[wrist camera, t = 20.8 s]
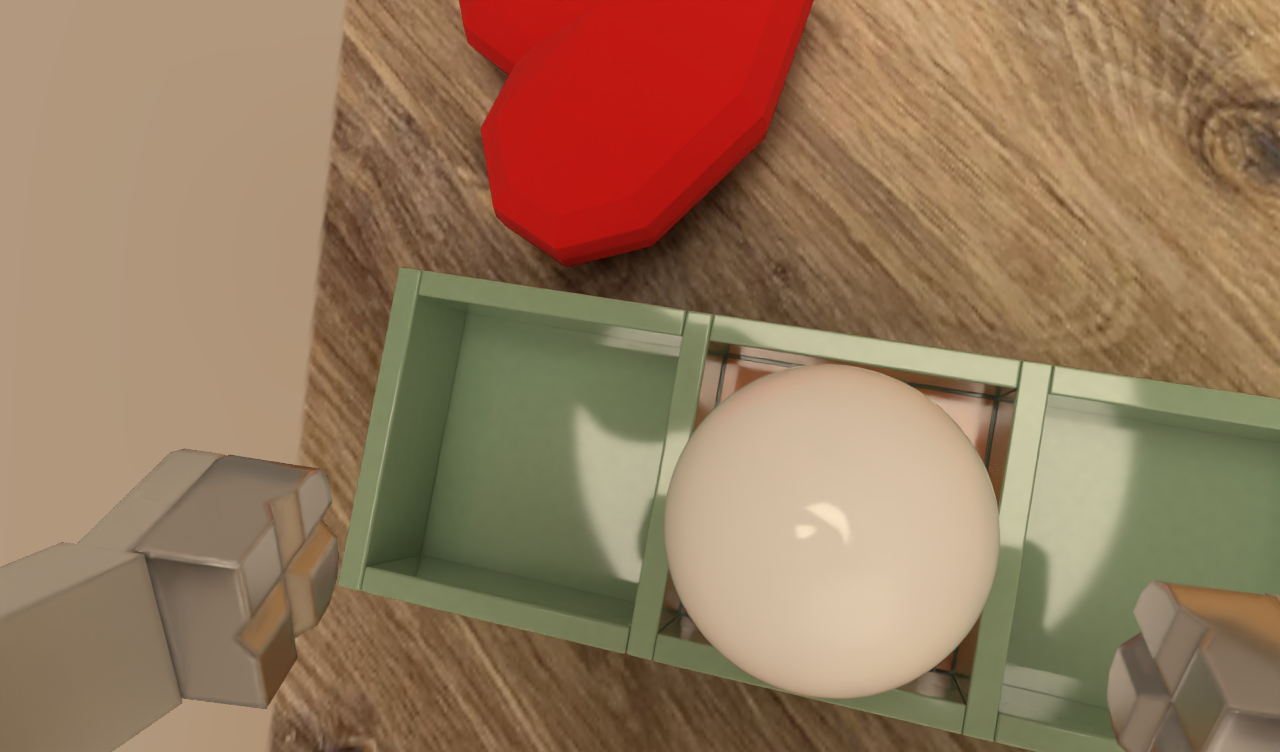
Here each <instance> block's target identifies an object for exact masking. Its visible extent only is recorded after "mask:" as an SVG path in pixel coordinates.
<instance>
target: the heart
mask: <svg viewBox="0 0 1280 752" xmlns="http://www.w3.org/2000/svg"><path fill="white" fill-rule="evenodd" d="M813 1H814V0H459V3H460V8H461V14H462V20H463V25H464V29H465V33H466V37H467V41H468V43H469V44H470V45H471V46H472V47H473V48H474V49H475V50H477V51H478V52H479V53H480V54H482V55H483V56H484V57H486V58H487V59H488V60H490V61H491V62H492V63H494V64H495V65H496V66H498V67H499V68H500V69H501V70H503V71H504V72H505V73H507V74H508V75H509V77H508V78H507V80H506V82H505V84H504V86H503V88H502V90H501V91H500V93H499V95H498V97H497V99H496V101H495V103H494V104H493V106H492V108H491V110H490V112H489V114H488V115H487V117H486V119H485V121H484V123H483V125H482V127H481V133H482V139H483V146H484V152H485V158H486V164H487V171H488V177H489V183H490V190H491V196H492V202H493V208H494V210H495V213H496V216H497V217H498V218H499V219H500V220H501V221H502V222H503V223H504V224H505V226H507V227H508V228H510V229H511V230H512V231H514V232H515V233H517V234H518V235H520V236H521V237H523V238H524V239H526V240H527V241H529V242H530V243H531V244H533V245H534V246H536V247H537V248H539V249H540V250H542V251H543V252H545V253H546V254H548V255H549V256H550V257H552V258H553V259H555V260H556V261H558V262H559V263H561V264H562V265H564V266H565V267H569V266H573V265H578V264H582V263H586V262H590V261H594V260H598V259H602V258H606V257H610V256H614V255H618V254H622V253H626V252H630V251H634V250H638V249H642V248H647V247H651V246H653V245H654V244H655V243H656V242H657V241H658V240H659V239H660V238H661V237H662V236H663V235H664V234H666V233H667V232H668V231H669V230H670V229H671V228H672V227H673V226H674V225H675V224H676V223H677V222H678V221H679V220H680V219H681V218H682V217H683V216H684V215H685V214H686V213H687V212H689V211H690V210H691V209H692V208H693V207H694V206H695V205H696V204H697V203H698V202H699V201H700V200H701V199H702V198H703V197H704V196H705V195H706V194H707V193H708V192H709V191H710V190H711V189H713V188H714V187H715V186H716V185H717V184H718V183H719V182H720V181H721V180H722V179H723V178H724V177H725V176H726V175H727V174H728V173H729V172H730V171H731V170H732V169H733V168H734V167H735V166H737V165H738V164H739V163H740V162H741V161H742V160H743V159H744V158H745V157H746V156H747V155H748V154H749V153H750V152H751V151H752V150H753V149H754V148H755V147H756V146H757V145H758V144H759V143H761V142H762V141H763V140H764V139H765V136H766V133H767V130H768V127H769V125H770V122H771V119H772V116H773V113H774V111H775V108H776V105H777V102H778V99H779V97H780V94H781V91H782V88H783V85H784V83H785V80H786V77H787V74H788V72H789V69H790V66H791V63H792V60H793V58H794V55H795V52H796V49H797V46H798V44H799V41H800V38H801V35H802V32H803V30H804V27H805V24H806V21H807V18H808V16H809V13H810V10H811V7H812V4H813Z"/></svg>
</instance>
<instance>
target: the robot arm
mask: <svg viewBox="0 0 1280 752" xmlns="http://www.w3.org/2000/svg"><path fill="white" fill-rule="evenodd" d="M331 503H332V498H331V493H330V487H329V481H328V476H327V475H326V474H324V473H323V472H322V471H321V470H320V469H317V468H311V467H305V466H298V465H292V464H285V463H279V462H273V461H265V460H260V459H253V458H247V457H240V456H234V455H228V456H226V455H223V454H217V453H211V452H204V451H197V450H190V449H182V450H178V451H174V452H171V453H169V454H168V455H167V456H166V457H165V458H164V459H163V460H162V461H161V462H160V463H159V464H158V465H157V466H156V467H155V468H154V469H153V470H152V471H151V472H150V473H149V474H148V475H147V476H146V477H145V478H144V479H143V480H142V481H141V482H140V483H139V484H138V485H137V486H136V487H134V488H133V489H132V491H130V493H128V494H127V495H126V496H125V497H124V498H123V500H121V501H120V502H119V503H118V504H117V505H116V506H115V507H114V508H113V509H112V510H111V511H110V512H109V513H108V514H107V515H106V516H105V517H104V518H103V519H102V520H101V521H100V522H99V523H98V524H97V525H96V526H95V527H94V528H93V529H92V530H91V531H90V532H89V533H88V534H87V535H86V536H85V537H84V538H83V539H82V540H81V541H79V542H78V543H77V544H70V543H63V542H61V543H59V544H57V545H54V546H52V547H49V548H47V549H44V550H42V551H39V552H37V553H34V554H32V555H29V556H27V557H24V558H22V559H19V560H17V561H14V562H12V563H9V564H7V565H4V566H2V567H0V752H112V751H114V750H115V749H116V748H118V747H120V746H121V745H123V744H124V743H125V742H126V741H128V740H129V739H131V738H132V737H134V736H135V735H137V734H138V733H140V732H141V731H143V730H144V729H146V728H147V727H149V726H150V725H151V724H153V723H154V722H156V721H157V720H158V719H160V718H161V717H163V716H164V715H166V714H167V713H169V712H170V711H171V710H173V709H174V708H176V707H177V706H178V705H180V704H181V703H182V698H184V699H191V700H199V701H207V702H215V703H223V704H230V705H238V706H246V707H254V708H262V709H267V707H268V705H269V704H270V702H271V701H272V699H273V697H274V696H275V694H276V692H277V691H278V689H279V687H280V686H281V684H282V683H283V681H284V679H285V678H286V676H287V674H288V673H289V671H290V669H291V668H292V666H293V665H294V663H295V661H296V660H297V651H296V645H295V639H294V638H296V637H298V636H299V635H301V634H303V633H305V632H306V631H308V630H310V629H312V628H313V627H315V626H317V625H318V623H319V621H320V619H321V618H322V616H323V614H324V612H325V611H326V609H327V607H328V605H329V603H330V600H331V597H332V593H333V590H334V587H335V583H336V580H337V574H338V560H339V553H338V544H337V537H336V535H335V534H334V533H333V532H332V531H331V530H330V528H329V527H328V526H327V525H326V524H325V523H324V521H323V520H322V519H321V518H322V517H323V515H324V514H325V512H326V511H327V509H328V508H329V506H330V505H331ZM1133 612H1134V615H1135V617H1136V620H1137V622H1138V624H1139V627H1140V629H1141V632H1140V633H1138V634H1137V635H1135V636H1133V637H1132V638H1130V639H1129V640H1127V641H1125V642H1124V643H1122V644H1121V645H1119V646H1118V649H1117V651H1116V654H1115V657H1114V660H1113V662H1112V665H1111V668H1110V671H1109V679H1108V692H1107V704H1108V711H1109V718H1110V723H1111V726H1112V729H1113V732H1114V735H1115V738H1116V741H1117V744H1118V745H1119V746H1120V747H1121V748H1122V749H1123V750H1124V751H1125V752H1280V594H1271V593H1265V594H1257V593H1249V592H1241V591H1233V590H1226V589H1218V588H1210V587H1202V586H1194V585H1187V584H1179V583H1171V582H1163V581H1155V580H1152V581H1151V582H1150V584H1149V585H1148V586H1147V587H1146V588H1145V589H1144V590H1143V591H1142V592H1141V595H1140V597H1139V599H1138V601H1137V604H1136V606H1135V608H1134V610H1133Z"/></svg>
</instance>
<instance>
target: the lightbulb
mask: <svg viewBox="0 0 1280 752" xmlns="http://www.w3.org/2000/svg"><path fill="white" fill-rule="evenodd" d="M664 545H665V552H666V558H667V563H668V567H669V571H670V574H671V578H672V581H673V584H674V586H675V589H676V591H677V594H678V596H679V598H680V600H681V602H682V604H683V606H684V608H685V610H686V611H687V613H688V615H689V616H690V618H691V619H692V621H693V622H694V624H695V625H696V627H697V628H698V629H699V631H700V632H701V633H702V634H703V636H704V637H705V638H706V639H707V640H708V641H709V642H710V643H711V644H712V646H713V647H714V648H715V649H716V650H718V651H719V652H720V653H721V654H722V655H723V656H724V657H725V658H726V659H728V660H729V661H730V662H731V663H733V664H734V665H735V666H737V667H738V668H740V669H741V670H743V671H744V672H746V673H747V674H749V675H751V676H753V677H754V678H756V679H758V680H760V681H762V682H764V683H767V684H769V685H771V686H774V687H776V688H779V689H782V690H785V691H788V692H791V693H795V694H799V695H804V696H809V697H816V698H825V699H850V698H860V697H866V696H871V695H876V694H880V693H883V692H887V691H890V690H893V689H895V688H898V687H900V686H903V685H905V684H907V683H909V682H911V681H913V680H915V679H917V678H919V677H920V676H922V675H924V674H925V673H927V672H928V671H930V670H931V669H933V668H934V667H935V666H937V665H938V664H939V663H940V662H942V661H943V660H944V659H945V658H946V657H947V656H949V655H950V654H951V653H952V652H953V651H954V650H955V649H956V648H957V646H958V645H959V644H960V643H961V642H962V641H963V640H964V638H965V637H966V636H967V635H968V633H969V632H970V631H971V629H972V628H973V626H974V625H975V623H976V621H977V620H978V618H979V616H980V614H981V612H982V611H983V609H984V606H985V604H986V602H987V600H988V597H989V595H990V592H991V589H992V586H993V583H994V579H995V576H996V571H997V566H998V560H999V552H1000V519H999V512H998V506H997V501H996V496H995V492H994V489H993V486H992V483H991V480H990V477H989V474H988V472H987V470H986V467H985V465H984V463H983V461H982V459H981V457H980V456H979V454H978V452H977V450H976V449H975V447H974V445H973V444H972V442H971V441H970V439H969V438H968V437H967V435H966V434H965V433H964V431H963V430H962V429H961V428H960V426H959V425H958V424H957V423H956V422H955V421H954V420H953V419H952V418H951V417H950V416H949V415H948V414H947V413H946V412H945V411H944V410H943V409H942V408H941V407H940V406H938V405H937V404H936V403H935V402H934V401H932V400H931V399H930V398H928V397H927V396H925V395H924V394H922V393H921V392H919V391H918V390H916V389H915V388H913V387H911V386H909V385H907V384H905V383H903V382H901V381H899V380H897V379H895V378H892V377H890V376H887V375H884V374H882V373H878V372H875V371H872V370H868V369H864V368H859V367H853V366H846V365H835V364H818V365H807V366H799V367H794V368H789V369H785V370H781V371H778V372H775V373H772V374H769V375H766V376H764V377H762V378H759V379H757V380H755V381H753V382H751V383H749V384H747V385H746V386H744V387H742V388H740V389H739V390H737V391H736V392H734V393H733V394H732V395H730V396H729V397H727V398H726V399H725V400H724V401H722V402H721V403H720V404H719V405H718V406H717V407H716V408H715V409H713V410H712V411H711V412H710V413H709V414H708V415H707V417H706V418H705V419H704V420H703V421H702V422H701V423H700V425H699V426H698V427H697V428H696V430H695V431H694V433H693V434H692V435H691V437H690V438H689V440H688V442H687V443H686V445H685V447H684V448H683V450H682V452H681V454H680V456H679V459H678V461H677V463H676V466H675V468H674V471H673V474H672V477H671V480H670V484H669V487H668V492H667V496H666V502H665V510H664Z"/></svg>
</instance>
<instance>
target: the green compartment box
mask: <svg viewBox="0 0 1280 752" xmlns="http://www.w3.org/2000/svg"><path fill="white" fill-rule="evenodd" d="M818 364H835V365H846V366H853V367H859V368H864V369H868V370H872V371H875V372H878V373H882V374H884V375H887V376H890V377H892V378H895V379H897V380H899V381H901V382H903V383H905V384H907V385H909V386H911V387H913V388H915V389H916V390H918V391H919V392H921V393H922V394H924V395H925V396H927V397H928V398H930V399H931V400H932V401H934V402H935V403H936V404H937V405H938V406H940V407H941V408H942V409H943V410H944V411H945V412H946V413H947V414H948V415H949V416H950V417H951V418H952V419H953V420H954V421H955V422H956V423H957V424H958V425H959V426H960V428H961V429H962V430H963V431H964V433H965V434H966V435H967V437H968V438H969V439H970V441H971V442H972V444H973V445H974V447H975V449H976V450H977V452H978V454H979V456H980V457H981V459H982V461H983V463H984V465H985V467H986V470H987V472H988V474H989V477H990V480H991V483H992V486H993V489H994V492H995V496H996V501H997V506H998V512H999V519H1000V552H999V560H998V566H997V571H996V576H995V579H994V583H993V586H992V589H991V592H990V595H989V597H988V600H987V602H986V604H985V606H984V609H983V611H982V612H981V614H980V616H979V618H978V620H977V621H976V623H975V625H974V626H973V628H972V629H971V631H970V632H969V633H968V635H967V636H966V637H965V638H964V640H963V641H962V642H961V643H960V644H959V645H958V646H957V648H956V649H955V650H954V651H953V652H952V653H951V654H950V655H949V656H947V657H946V658H945V659H944V660H943V661H942V662H940V663H939V664H938V665H937V666H935V667H934V668H933V669H931V670H930V671H928V672H927V673H925V674H924V675H922V676H920V677H919V678H917V679H915V680H913V681H911V682H909V683H907V684H905V685H903V686H900V687H898V688H895V689H893V690H890V691H887V692H883V693H880V694H876V695H871V696H866V697H860V698H850V699H825V698H816V697H809V696H804V695H799V694H795V693H791V692H788V691H785V690H782V689H779V688H776V687H774V686H771V685H769V684H767V683H764V682H762V681H760V680H758V679H756V678H754V677H753V676H751V675H749V674H747V673H746V672H744V671H743V670H741V669H740V668H738V667H737V666H735V665H734V664H733V663H731V662H730V661H729V660H728V659H726V658H725V657H724V656H723V655H722V654H721V653H720V652H719V651H718V650H716V649H715V648H714V647H713V646H712V644H711V643H710V642H709V641H708V640H707V639H706V638H705V637H704V636H703V634H702V633H701V632H700V631H699V629H698V628H697V627H696V625H695V624H694V622H693V621H692V619H691V618H690V616H689V615H688V613H687V611H686V610H685V608H684V606H683V604H682V602H681V600H680V598H679V596H678V594H677V591H676V589H675V586H674V584H673V581H672V578H671V574H670V571H669V567H668V563H667V558H666V552H665V545H664V510H665V502H666V496H667V492H668V487H669V484H670V480H671V477H672V474H673V471H674V468H675V466H676V463H677V461H678V459H679V456H680V454H681V452H682V450H683V448H684V447H685V445H686V443H687V442H688V440H689V438H690V437H691V435H692V434H693V433H694V431H695V430H696V428H697V427H698V426H699V425H700V423H701V422H702V421H703V420H704V419H705V418H706V417H707V415H708V414H709V413H710V412H711V411H712V410H713V409H715V408H716V407H717V406H718V405H719V404H720V403H721V402H722V401H724V400H725V399H726V398H727V397H729V396H730V395H732V394H733V393H734V392H736V391H737V390H739V389H740V388H742V387H744V386H746V385H747V384H749V383H751V382H753V381H755V380H757V379H759V378H762V377H764V376H766V375H769V374H772V373H775V372H778V371H781V370H785V369H789V368H794V367H799V366H807V365H818ZM1152 580H1155V581H1163V582H1171V583H1179V584H1187V585H1194V586H1202V587H1210V588H1218V589H1226V590H1233V591H1241V592H1249V593H1257V594H1265V593H1271V594H1280V399H1279V398H1272V397H1266V396H1259V395H1252V394H1246V393H1239V392H1232V391H1226V390H1219V389H1212V388H1206V387H1199V386H1192V385H1186V384H1179V383H1172V382H1166V381H1159V380H1152V379H1146V378H1139V377H1133V376H1126V375H1119V374H1113V373H1106V372H1099V371H1093V370H1086V369H1079V368H1073V367H1066V366H1059V365H1054V366H1053V365H1051V364H1046V363H1040V362H1033V361H1026V360H1023V361H1021V360H1019V359H1013V358H1006V357H999V356H993V355H986V354H979V353H973V352H966V351H959V350H953V349H946V348H939V347H933V346H926V345H920V344H913V343H906V342H900V341H893V340H886V339H880V338H873V337H866V336H860V335H853V334H846V333H840V332H833V331H826V330H820V329H813V328H806V327H800V326H793V325H786V324H780V323H773V322H766V321H760V320H753V319H746V318H740V317H733V316H726V315H720V314H715V315H713V314H711V313H706V312H699V311H692V310H690V311H688V312H687V311H686V310H685V309H679V308H673V307H666V306H659V305H653V304H646V303H639V302H633V301H626V300H620V299H613V298H606V297H600V296H593V295H586V294H580V293H573V292H566V291H560V290H553V289H546V288H540V287H533V286H526V285H520V284H513V283H506V282H500V281H493V280H486V279H480V278H473V277H466V276H460V275H453V274H446V273H440V272H433V271H426V270H425V271H422V270H419V269H413V268H406V267H401V268H400V269H399V272H398V277H397V282H396V288H395V293H394V298H393V303H392V308H391V313H390V319H389V324H388V329H387V334H386V339H385V344H384V349H383V355H382V360H381V365H380V370H379V375H378V380H377V385H376V391H375V396H374V401H373V406H372V411H371V416H370V422H369V427H368V432H367V437H366V442H365V447H364V452H363V458H362V463H361V468H360V473H359V478H358V483H357V488H356V494H355V499H354V504H353V509H352V514H351V519H350V525H349V530H348V535H347V540H346V545H345V550H344V555H343V561H342V566H341V571H340V576H339V581H338V585H339V586H340V587H344V588H348V589H352V590H357V591H360V590H362V591H363V592H365V593H369V594H373V595H378V596H382V597H386V598H390V599H394V600H399V601H403V602H407V603H411V604H416V605H420V606H424V607H428V608H432V609H437V610H441V611H445V612H449V613H453V614H458V615H462V616H466V617H470V618H474V619H479V620H483V621H487V622H491V623H495V624H500V625H504V626H508V627H512V628H516V629H521V630H525V631H529V632H533V633H537V634H542V635H546V636H550V637H554V638H558V639H563V640H567V641H571V642H575V643H579V644H584V645H588V646H592V647H596V648H600V649H605V650H609V651H613V652H617V653H621V654H624V653H626V652H627V654H628V655H630V656H634V657H638V658H642V659H647V660H652V659H653V661H655V662H658V663H662V664H667V665H671V666H675V667H679V668H683V669H688V670H692V671H696V672H700V673H704V674H709V675H713V676H717V677H721V678H725V679H730V680H734V681H738V682H742V683H746V684H751V685H755V686H759V687H763V688H767V689H772V690H776V691H780V692H784V693H788V694H793V695H797V696H801V697H805V698H809V699H814V700H818V701H822V702H826V703H831V704H835V705H839V706H843V707H847V708H852V709H856V710H860V711H864V712H868V713H873V714H877V715H881V716H885V717H889V718H894V719H898V720H902V721H906V722H910V723H915V724H919V725H923V726H927V727H931V728H936V729H940V730H944V731H948V732H952V733H957V734H961V733H962V734H963V735H965V736H969V737H973V738H977V739H981V740H986V741H990V742H992V741H993V740H994V741H995V742H997V743H1000V744H1004V745H1008V746H1012V747H1017V748H1021V749H1025V750H1029V751H1033V752H1125V751H1124V750H1123V749H1122V748H1121V747H1120V746H1119V745H1118V744H1117V741H1116V738H1115V735H1114V732H1113V729H1112V726H1111V723H1110V718H1109V711H1108V704H1107V692H1108V679H1109V671H1110V668H1111V665H1112V662H1113V660H1114V657H1115V654H1116V651H1117V649H1118V646H1119V645H1121V644H1122V643H1124V642H1125V641H1127V640H1129V639H1130V638H1132V637H1133V636H1135V635H1137V634H1138V633H1140V632H1141V629H1140V627H1139V624H1138V622H1137V620H1136V617H1135V615H1134V612H1133V610H1134V608H1135V606H1136V604H1137V601H1138V599H1139V597H1140V595H1141V592H1142V591H1143V590H1144V589H1145V588H1146V587H1147V586H1148V585H1149V584H1150V582H1151V581H1152Z"/></svg>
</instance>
